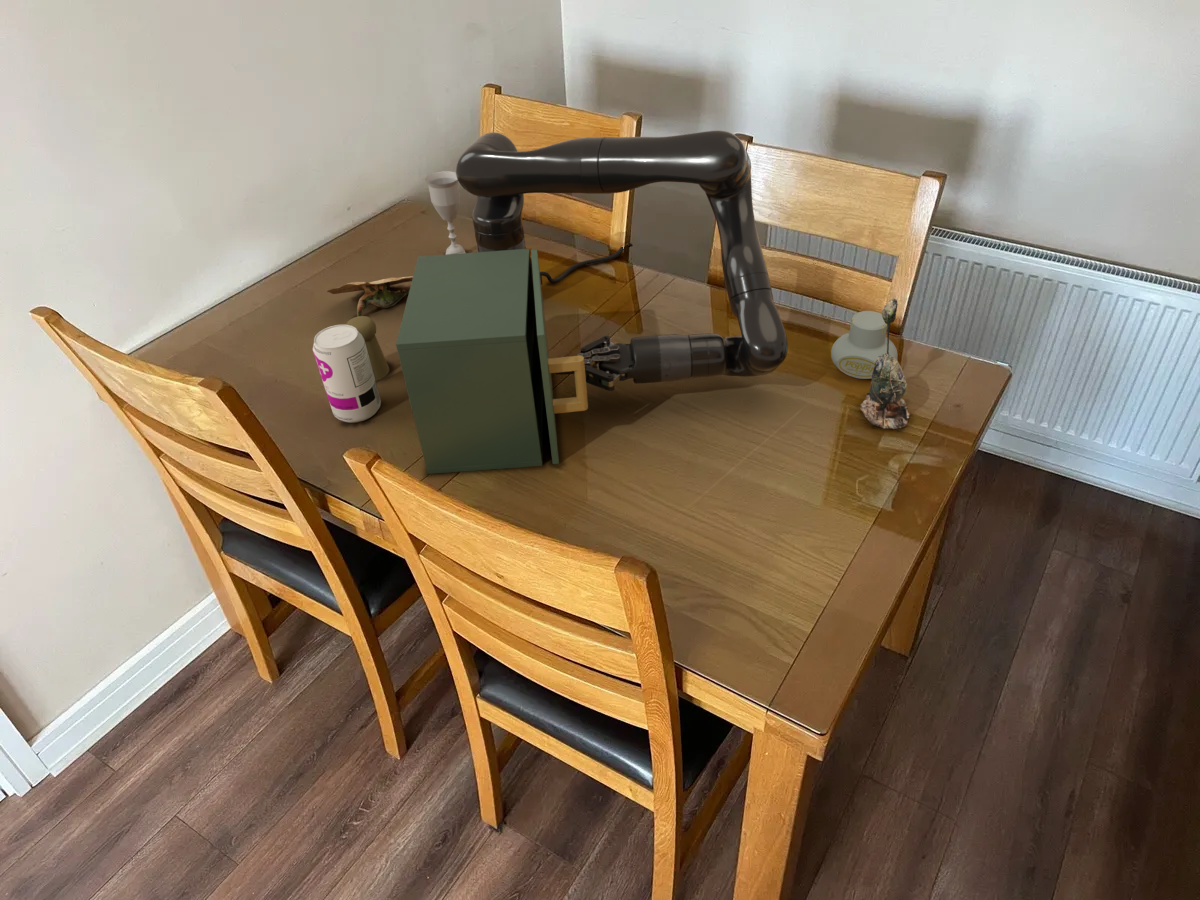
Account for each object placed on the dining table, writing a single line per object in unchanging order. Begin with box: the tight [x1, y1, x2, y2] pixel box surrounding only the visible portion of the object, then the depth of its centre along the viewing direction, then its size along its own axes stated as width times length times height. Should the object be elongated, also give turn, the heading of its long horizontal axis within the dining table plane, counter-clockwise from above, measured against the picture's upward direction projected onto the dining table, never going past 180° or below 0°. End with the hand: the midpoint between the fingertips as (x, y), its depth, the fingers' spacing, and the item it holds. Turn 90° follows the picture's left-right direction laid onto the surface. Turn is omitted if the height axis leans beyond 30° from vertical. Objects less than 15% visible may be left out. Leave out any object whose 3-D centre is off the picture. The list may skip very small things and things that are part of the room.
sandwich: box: [326, 275, 413, 317], centre depth 176 cm, size 18×14×8 cm
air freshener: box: [830, 310, 899, 380], centre depth 148 cm, size 11×8×10 cm
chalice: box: [424, 170, 467, 255], centre depth 186 cm, size 7×7×18 cm
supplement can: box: [312, 324, 382, 423], centre depth 145 cm, size 8×8×15 cm
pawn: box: [345, 315, 390, 382], centre depth 155 cm, size 6×6×11 cm
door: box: [530, 248, 589, 465], centre depth 138 cm, size 6×26×24 cm, turn 5°
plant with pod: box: [859, 298, 911, 430], centre depth 134 cm, size 8×11×20 cm
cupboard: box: [395, 248, 544, 475], centre depth 138 cm, size 18×26×24 cm
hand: (554, 366), depth 141 cm, fingers closed
